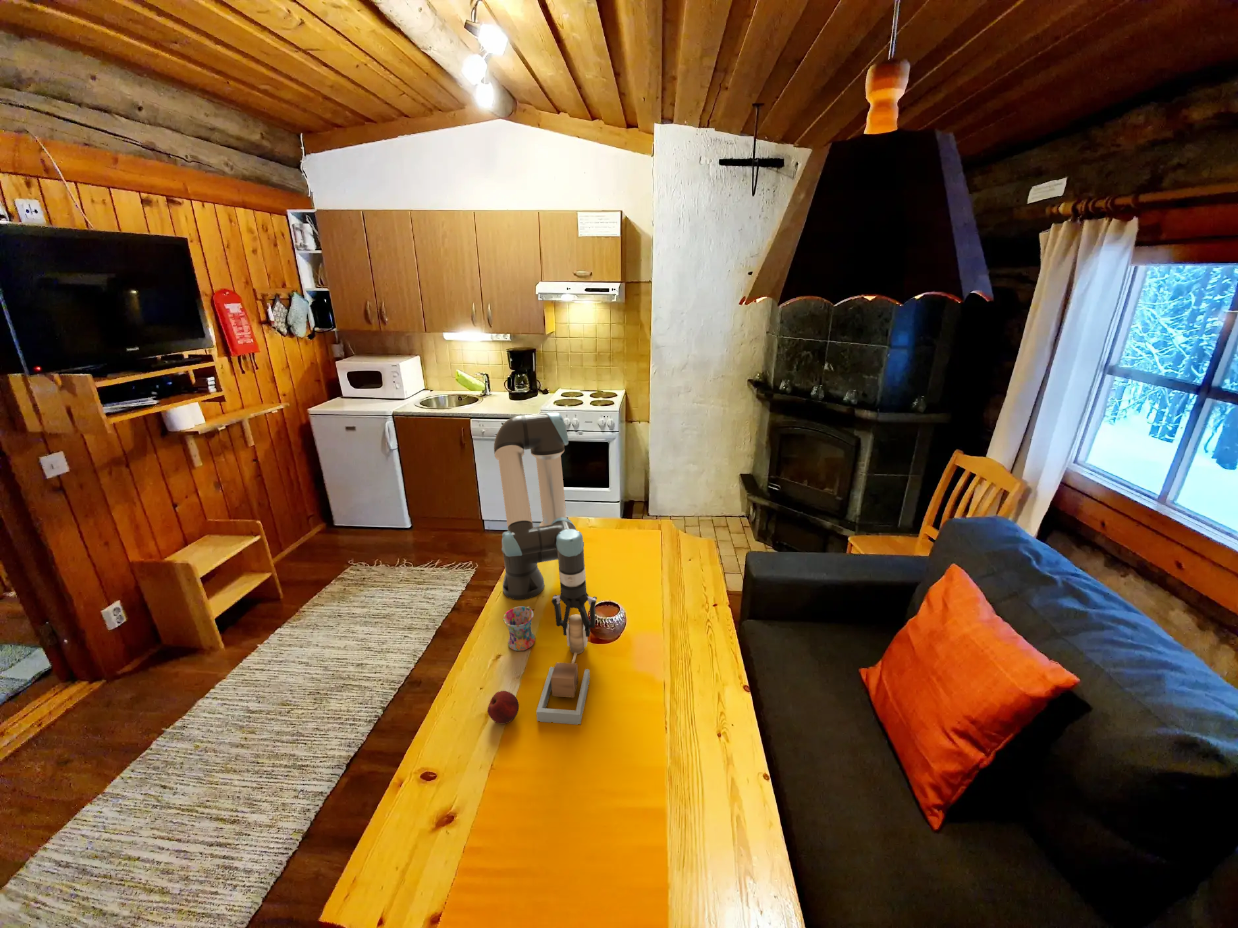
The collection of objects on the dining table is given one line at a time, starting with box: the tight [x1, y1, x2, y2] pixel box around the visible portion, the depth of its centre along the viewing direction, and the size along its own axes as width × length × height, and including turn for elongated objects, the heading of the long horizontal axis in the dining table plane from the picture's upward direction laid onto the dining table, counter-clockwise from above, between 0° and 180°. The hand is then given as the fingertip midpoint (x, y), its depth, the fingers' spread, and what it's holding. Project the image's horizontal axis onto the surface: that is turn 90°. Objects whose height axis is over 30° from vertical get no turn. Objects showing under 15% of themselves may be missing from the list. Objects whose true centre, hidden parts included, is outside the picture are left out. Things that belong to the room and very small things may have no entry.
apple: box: [487, 690, 520, 725], centre depth 127 cm, size 7×8×8 cm
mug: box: [502, 605, 536, 652], centre depth 153 cm, size 12×9×11 cm
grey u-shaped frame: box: [535, 666, 591, 725], centre depth 132 cm, size 15×11×4 cm
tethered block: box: [551, 613, 585, 698], centre depth 140 cm, size 22×6×11 cm, turn 174°
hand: (577, 643), depth 150 cm, fingers closed on tethered block, 4 cm apart
